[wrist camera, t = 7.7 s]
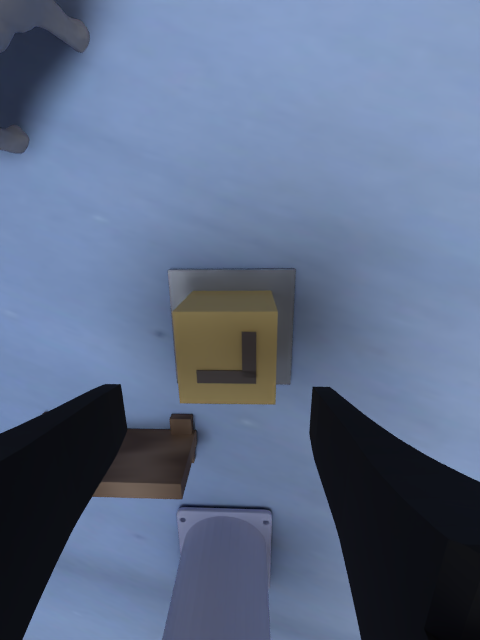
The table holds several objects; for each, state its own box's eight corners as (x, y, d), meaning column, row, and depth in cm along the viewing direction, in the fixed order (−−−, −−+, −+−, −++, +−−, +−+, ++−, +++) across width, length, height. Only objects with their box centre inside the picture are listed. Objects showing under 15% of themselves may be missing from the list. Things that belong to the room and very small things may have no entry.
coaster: (289, 380, 21) (290, 384, 20) (179, 379, 21) (177, 383, 20) (294, 268, 18) (295, 269, 18) (170, 269, 19) (167, 270, 18)
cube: (269, 362, 20) (275, 405, 15) (197, 362, 20) (179, 404, 15) (271, 290, 18) (278, 312, 13) (192, 290, 18) (171, 312, 14)
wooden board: (195, 414, 22) (179, 465, 17) (197, 457, 23) (183, 516, 18) (42, 411, 22) (-15, 460, 18) (52, 454, 24) (1, 510, 19)
